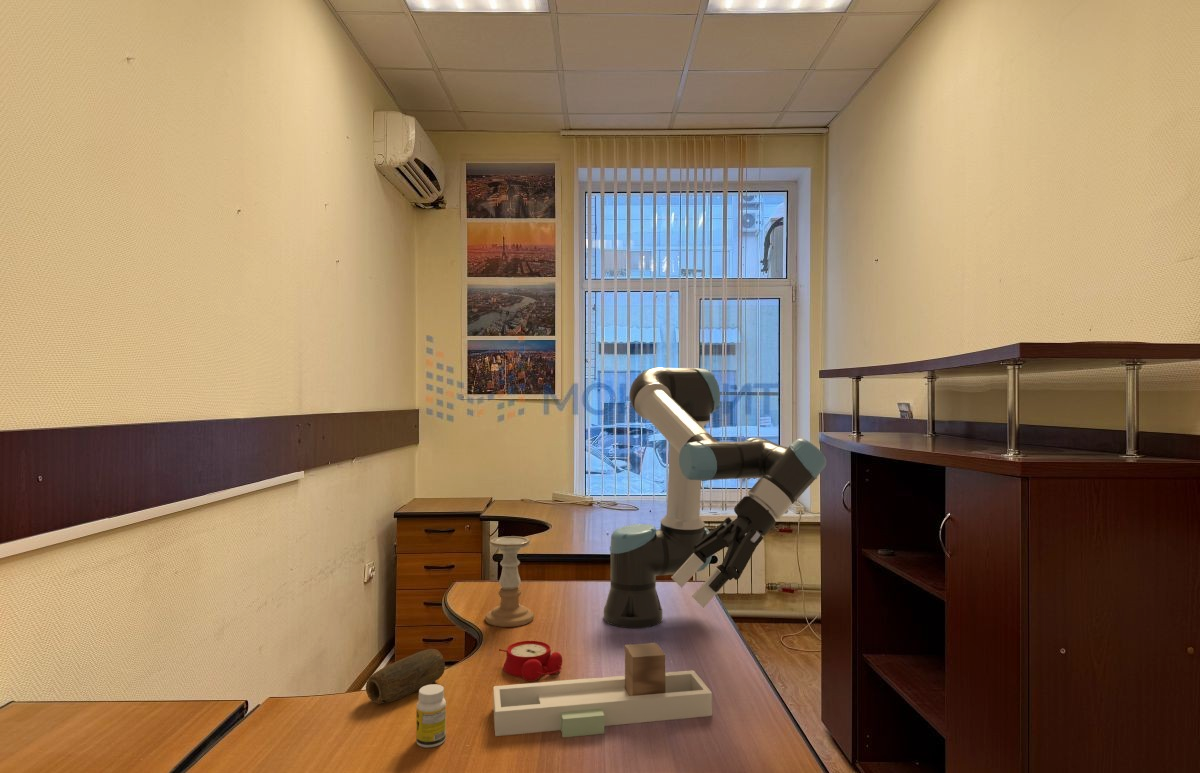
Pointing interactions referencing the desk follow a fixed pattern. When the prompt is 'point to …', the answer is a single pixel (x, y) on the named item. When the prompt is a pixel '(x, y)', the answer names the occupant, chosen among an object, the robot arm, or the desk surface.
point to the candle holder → (509, 585)
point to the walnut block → (644, 669)
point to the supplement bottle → (431, 716)
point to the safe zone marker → (582, 722)
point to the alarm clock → (531, 660)
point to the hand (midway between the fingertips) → (686, 592)
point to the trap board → (596, 702)
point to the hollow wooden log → (405, 676)
